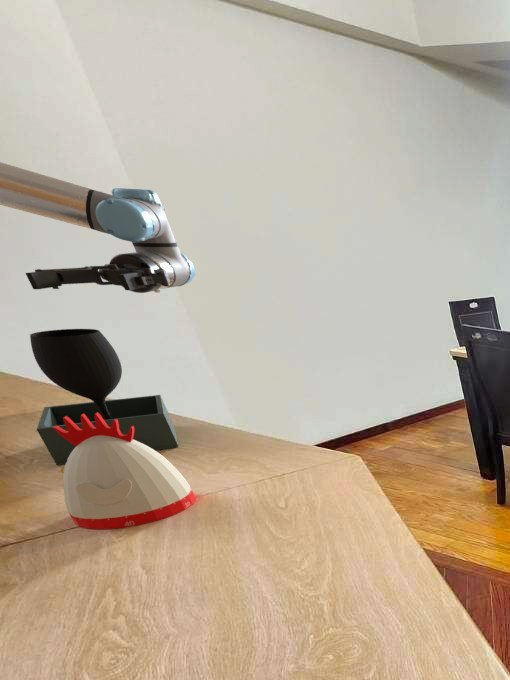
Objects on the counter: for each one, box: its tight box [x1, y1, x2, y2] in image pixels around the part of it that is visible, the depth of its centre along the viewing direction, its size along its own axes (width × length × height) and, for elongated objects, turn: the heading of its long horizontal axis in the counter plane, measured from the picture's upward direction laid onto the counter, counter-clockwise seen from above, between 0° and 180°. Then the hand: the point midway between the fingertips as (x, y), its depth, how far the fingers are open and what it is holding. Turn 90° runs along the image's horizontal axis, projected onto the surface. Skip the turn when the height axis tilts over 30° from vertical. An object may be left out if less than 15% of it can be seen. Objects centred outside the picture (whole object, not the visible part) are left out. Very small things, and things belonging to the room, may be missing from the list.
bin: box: [36, 394, 179, 466], centre depth 113 cm, size 17×17×7 cm
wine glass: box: [29, 328, 123, 420], centre depth 109 cm, size 10×10×20 cm
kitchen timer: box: [53, 412, 196, 530], centre depth 87 cm, size 14×14×15 cm
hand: (78, 281), depth 109 cm, fingers open, 13 cm apart
